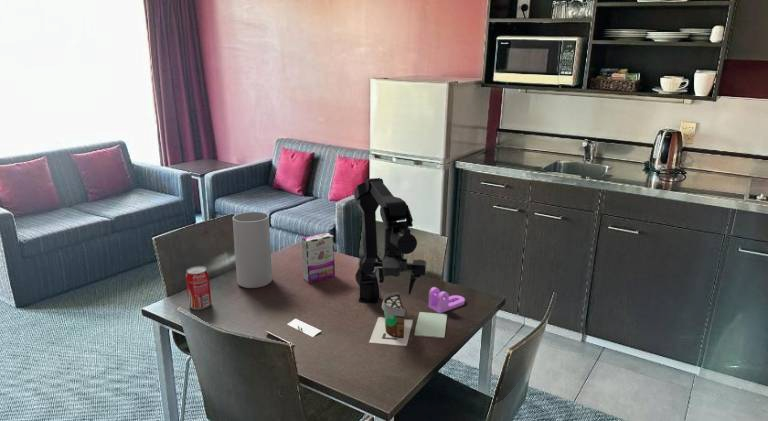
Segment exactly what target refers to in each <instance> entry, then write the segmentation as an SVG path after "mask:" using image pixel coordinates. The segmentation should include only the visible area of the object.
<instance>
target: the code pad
mask: <svg viewBox="0 0 768 421" xmlns="http://www.w3.org/2000/svg"><path fill="white" fill-rule="evenodd" d="M413 320H414V319H407V318H406V319H405V318H404V338H396V337H392V336H390V335H388V334H387V333H386V329H385V317H383V316H380V317H379V316H378V318H377V320H376V323H375V326H374V328H373V330H372V333H371V336H370V339H369V341H368V343H370V344H379V345H380V344H381V345H391V346H401V347H407V345H408V341H409V338H410V334H411V329H412V326H413Z"/></svg>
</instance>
